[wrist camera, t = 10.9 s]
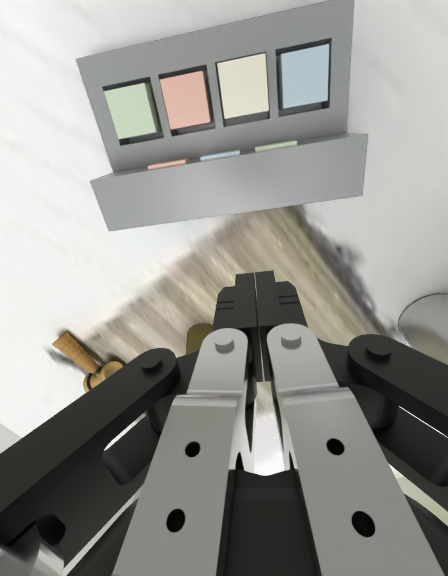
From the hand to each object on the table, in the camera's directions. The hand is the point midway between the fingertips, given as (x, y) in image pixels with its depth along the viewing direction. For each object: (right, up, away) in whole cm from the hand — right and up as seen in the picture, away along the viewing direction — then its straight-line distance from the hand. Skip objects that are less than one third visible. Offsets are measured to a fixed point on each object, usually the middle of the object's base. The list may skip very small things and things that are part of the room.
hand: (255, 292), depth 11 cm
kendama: (-24, -14, +41) cm, 49 cm away
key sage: (-10, +19, +18) cm, 28 cm away
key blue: (+6, +21, +16) cm, 27 cm away
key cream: (+1, +19, +16) cm, 25 cm away
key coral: (-5, +20, +18) cm, 27 cm away
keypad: (-2, +19, +20) cm, 27 cm away
